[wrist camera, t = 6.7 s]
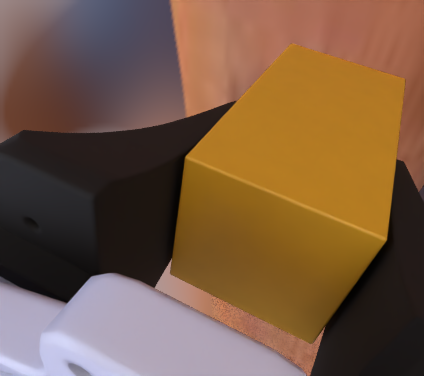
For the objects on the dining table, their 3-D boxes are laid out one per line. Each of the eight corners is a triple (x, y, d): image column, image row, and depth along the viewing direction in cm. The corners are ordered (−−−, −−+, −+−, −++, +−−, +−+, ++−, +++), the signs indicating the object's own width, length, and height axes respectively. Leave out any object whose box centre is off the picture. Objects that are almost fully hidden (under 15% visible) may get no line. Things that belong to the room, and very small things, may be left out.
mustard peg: (356, 172, 15) (311, 345, 9) (263, 136, 16) (168, 274, 10) (406, 78, 12) (388, 240, 6) (291, 42, 13) (183, 156, 7)
